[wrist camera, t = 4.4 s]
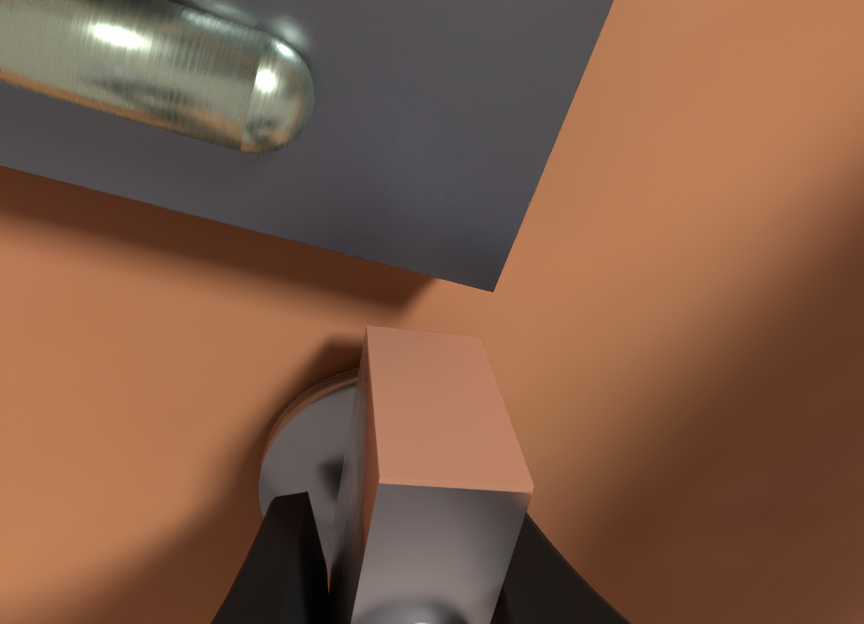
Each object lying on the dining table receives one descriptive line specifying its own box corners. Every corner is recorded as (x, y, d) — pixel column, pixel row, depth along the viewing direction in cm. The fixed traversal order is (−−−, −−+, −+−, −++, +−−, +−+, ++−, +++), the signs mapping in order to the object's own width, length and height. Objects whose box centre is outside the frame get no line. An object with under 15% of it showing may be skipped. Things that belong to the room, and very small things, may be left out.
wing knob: (471, 593, 17) (521, 832, 12) (249, 586, 16) (217, 842, 11) (551, 326, 14) (656, 521, 9) (278, 296, 13) (249, 498, 8)
